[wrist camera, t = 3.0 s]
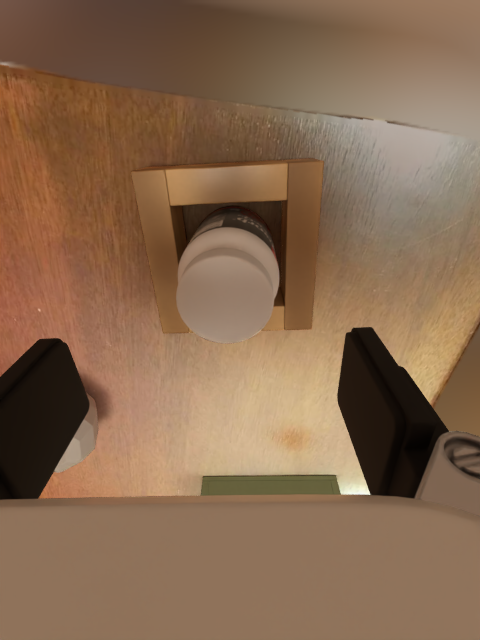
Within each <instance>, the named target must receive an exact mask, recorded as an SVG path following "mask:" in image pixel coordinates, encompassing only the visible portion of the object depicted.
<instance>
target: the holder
mask: <svg viewBox="0 0 480 640" xmlns="http://www.w3.org/2000/svg"><path fill="white" fill-rule="evenodd" d="M323 169H324V161H322V160H318V159H314V158H302V159H283V160H265V161H246V162H227V163H209V164H190V165H177V166H176V165H171V166H153V167H145V168H141V169H137V170H133V171H131V177H132V182H133V187H134V192H135V197H136V202H137V207H138V212H139V217H140V222H141V227H142V232H143V237H144V242H145V247H146V252H147V257H148V262H149V267H150V272H151V277H152V282H153V287H154V292H155V297H156V301H157V306H158V311H159V316H160V321H161V326H162V331H163V333H164V334H165V333H189V332H190V333H194V332H193V331H192V330H190V328H189V327H188V326H187V325H186V324H185V323H184V321H183V320H182V318H181V316H180V314H179V311H178V308H177V302H176V292H177V287H178V266H179V263H180V259H181V257H182V255H183V253H184V251H185V249H186V247H187V241H186V234H185V226H184V219H183V211H182V205H199V204H220V203H241V202H262V201H282V219H281V282H280V287H278V291H277V294H276V297H275V299H274V306H273V311H272V314H271V317H270V319H269V321H268V322H267V324H266V325H265V327H264V328H263V329H262V330H261V331H266V330H304V329H312V317H313V303H314V290H315V276H316V263H317V249H318V236H319V223H320V209H321V196H322V182H323Z"/></svg>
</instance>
